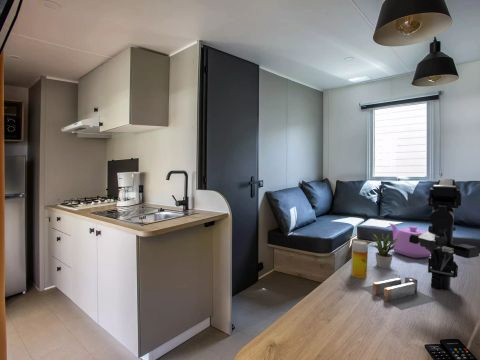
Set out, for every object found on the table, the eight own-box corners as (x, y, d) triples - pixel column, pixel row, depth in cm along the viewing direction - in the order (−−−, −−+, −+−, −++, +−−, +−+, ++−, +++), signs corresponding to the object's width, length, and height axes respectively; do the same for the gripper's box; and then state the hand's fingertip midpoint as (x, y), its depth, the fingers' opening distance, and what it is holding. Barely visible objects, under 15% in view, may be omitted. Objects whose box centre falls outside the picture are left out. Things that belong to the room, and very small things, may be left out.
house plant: (405, 277, 119) (407, 239, 118) (369, 272, 123) (371, 235, 122) (399, 265, 132) (400, 231, 131) (367, 261, 137) (368, 228, 136)
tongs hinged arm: (409, 287, 106) (409, 276, 106) (421, 292, 102) (422, 281, 102) (374, 295, 99) (375, 284, 99) (386, 301, 95) (387, 289, 94)
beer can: (368, 281, 114) (369, 244, 113) (352, 279, 115) (353, 243, 114) (364, 275, 120) (366, 240, 119) (349, 274, 121) (350, 240, 120)
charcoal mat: (393, 283, 112) (394, 280, 112) (437, 302, 97) (437, 300, 97) (360, 290, 105) (360, 287, 105) (401, 312, 90) (401, 309, 90)
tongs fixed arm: (398, 288, 105) (398, 277, 105) (401, 289, 104) (401, 278, 104) (372, 294, 100) (372, 282, 100) (375, 295, 99) (376, 284, 99)
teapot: (443, 256, 146) (445, 228, 145) (414, 261, 139) (416, 231, 138) (404, 244, 167) (405, 220, 166) (377, 248, 160) (378, 222, 159)
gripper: (399, 219, 97) (397, 263, 98) (458, 232, 79) (455, 285, 80) (420, 217, 101) (418, 260, 102) (481, 229, 84) (478, 279, 85)
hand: (439, 270), depth 92 cm, fingers closed
